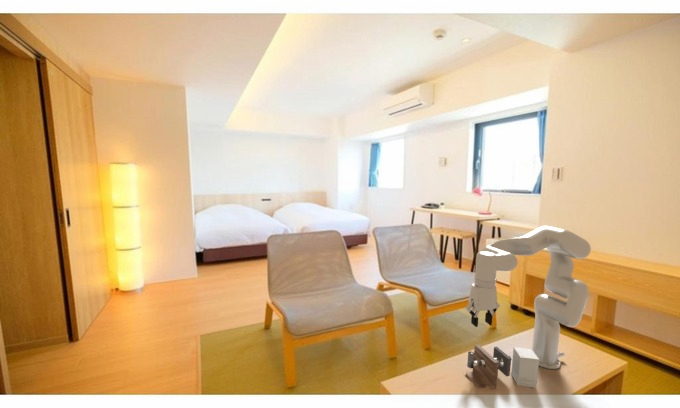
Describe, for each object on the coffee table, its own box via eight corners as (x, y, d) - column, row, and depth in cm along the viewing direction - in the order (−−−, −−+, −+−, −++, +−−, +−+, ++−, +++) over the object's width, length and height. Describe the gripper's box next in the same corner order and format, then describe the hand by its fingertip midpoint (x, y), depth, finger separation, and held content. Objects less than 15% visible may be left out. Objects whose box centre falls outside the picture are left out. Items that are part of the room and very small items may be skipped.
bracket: (476, 369, 130) (478, 344, 129) (496, 389, 119) (498, 362, 117) (462, 371, 129) (464, 346, 127) (481, 392, 117) (483, 364, 116)
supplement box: (537, 388, 120) (540, 359, 118) (517, 385, 121) (519, 357, 119) (529, 375, 127) (532, 348, 125) (510, 373, 128) (513, 346, 127)
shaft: (507, 358, 127) (508, 345, 126) (511, 362, 125) (512, 349, 124) (466, 364, 123) (466, 351, 122) (469, 368, 120) (470, 355, 120)
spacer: (495, 363, 130) (496, 346, 129) (509, 375, 122) (511, 358, 121) (492, 363, 129) (494, 347, 128) (506, 376, 122) (508, 358, 120)
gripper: (496, 277, 123) (492, 317, 126) (460, 280, 120) (457, 321, 122) (510, 284, 116) (506, 326, 118) (472, 287, 112) (468, 331, 115)
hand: (481, 323), depth 120 cm, fingers open, 5 cm apart
